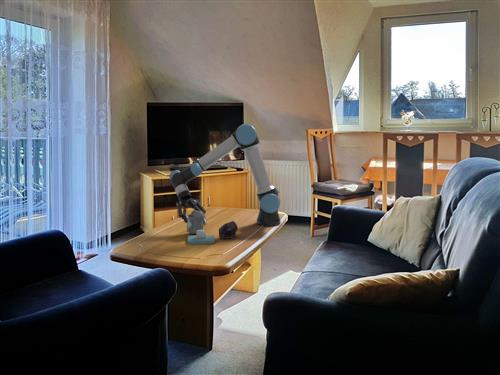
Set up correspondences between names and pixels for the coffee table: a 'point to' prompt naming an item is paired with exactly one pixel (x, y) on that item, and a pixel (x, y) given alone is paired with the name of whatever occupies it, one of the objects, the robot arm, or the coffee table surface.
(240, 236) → the coffee table surface
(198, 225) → the elbow
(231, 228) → the rock
